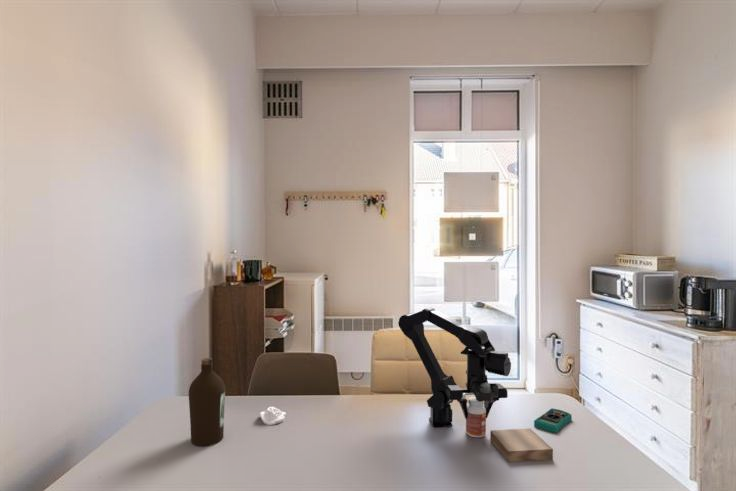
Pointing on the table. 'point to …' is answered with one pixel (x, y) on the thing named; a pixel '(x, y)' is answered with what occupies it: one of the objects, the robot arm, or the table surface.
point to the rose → (272, 416)
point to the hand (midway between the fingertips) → (475, 418)
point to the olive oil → (207, 406)
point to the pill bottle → (476, 418)
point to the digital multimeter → (553, 420)
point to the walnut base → (521, 445)
